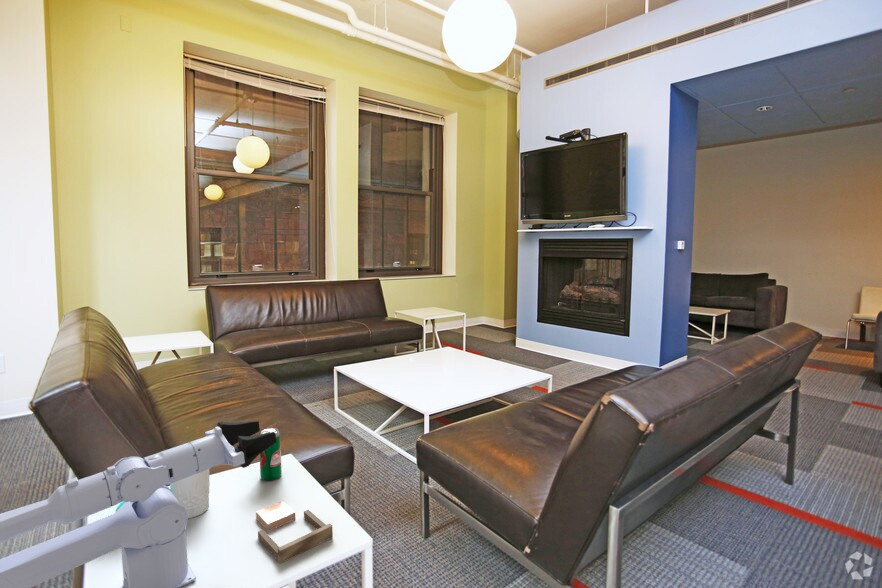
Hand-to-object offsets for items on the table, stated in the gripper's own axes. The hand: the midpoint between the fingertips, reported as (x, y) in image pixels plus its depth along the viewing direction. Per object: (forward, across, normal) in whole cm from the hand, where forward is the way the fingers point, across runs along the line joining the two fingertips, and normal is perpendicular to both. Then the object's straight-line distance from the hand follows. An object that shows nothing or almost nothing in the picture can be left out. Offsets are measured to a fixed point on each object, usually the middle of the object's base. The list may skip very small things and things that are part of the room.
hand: (266, 431), depth 92 cm
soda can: (+8, +22, +23) cm, 33 cm away
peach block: (+1, +4, +22) cm, 23 cm away
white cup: (-11, +20, +21) cm, 31 cm away
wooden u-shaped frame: (+1, -4, +22) cm, 22 cm away
